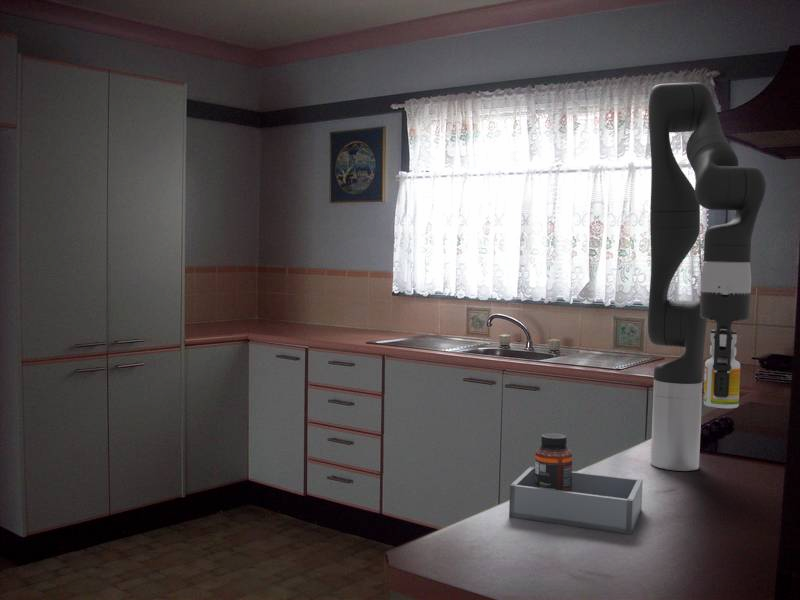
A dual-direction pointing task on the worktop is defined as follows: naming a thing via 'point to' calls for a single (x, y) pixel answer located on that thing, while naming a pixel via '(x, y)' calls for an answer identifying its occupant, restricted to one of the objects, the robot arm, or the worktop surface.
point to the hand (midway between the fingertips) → (721, 393)
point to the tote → (580, 502)
